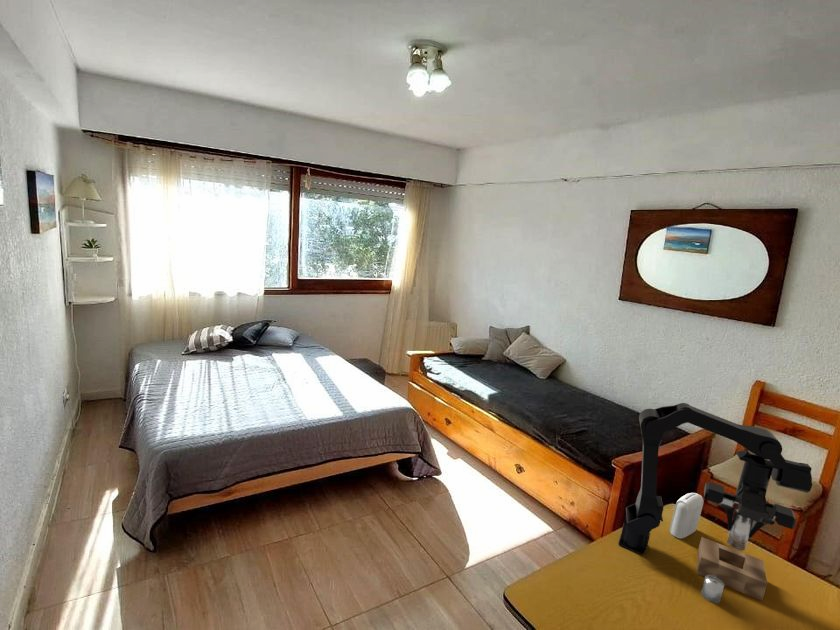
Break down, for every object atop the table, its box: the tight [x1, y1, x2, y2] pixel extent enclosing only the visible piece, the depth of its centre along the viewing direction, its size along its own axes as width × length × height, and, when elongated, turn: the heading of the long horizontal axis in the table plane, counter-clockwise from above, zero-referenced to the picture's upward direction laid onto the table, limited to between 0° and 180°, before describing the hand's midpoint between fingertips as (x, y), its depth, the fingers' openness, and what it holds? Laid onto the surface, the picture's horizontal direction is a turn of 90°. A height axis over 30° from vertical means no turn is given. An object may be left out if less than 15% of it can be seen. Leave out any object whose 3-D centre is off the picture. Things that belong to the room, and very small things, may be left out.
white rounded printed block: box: [669, 492, 704, 539], centre depth 134 cm, size 10×4×12 cm, turn 123°
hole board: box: [696, 536, 768, 602], centre depth 119 cm, size 14×10×5 cm
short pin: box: [700, 575, 725, 604], centre depth 111 cm, size 4×4×4 cm
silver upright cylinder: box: [726, 508, 754, 551], centre depth 116 cm, size 4×4×9 cm
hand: (739, 533), depth 117 cm, fingers closed on silver upright cylinder, 4 cm apart
